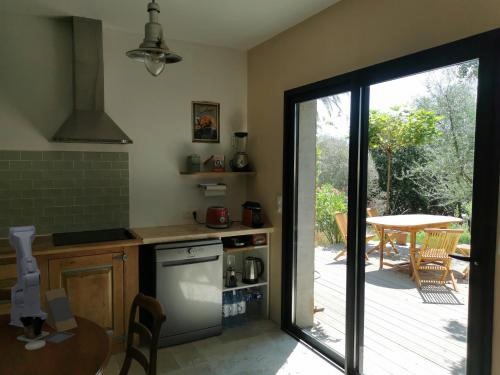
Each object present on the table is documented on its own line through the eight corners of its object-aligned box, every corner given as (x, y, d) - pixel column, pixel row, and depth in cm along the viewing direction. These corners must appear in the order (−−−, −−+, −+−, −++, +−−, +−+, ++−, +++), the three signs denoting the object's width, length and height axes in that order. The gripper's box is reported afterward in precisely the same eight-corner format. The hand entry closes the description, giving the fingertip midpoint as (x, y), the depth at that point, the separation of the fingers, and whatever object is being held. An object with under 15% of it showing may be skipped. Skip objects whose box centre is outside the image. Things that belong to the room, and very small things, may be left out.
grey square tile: (42, 341, 156) (42, 339, 156) (60, 333, 164) (60, 330, 164) (58, 345, 153) (58, 342, 153) (75, 336, 161) (74, 334, 160)
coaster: (20, 348, 150) (20, 346, 150) (37, 341, 156) (36, 338, 156) (33, 352, 147) (33, 349, 147) (49, 344, 153) (49, 341, 153)
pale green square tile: (16, 340, 157) (16, 337, 157) (35, 331, 165) (35, 329, 165) (31, 343, 154) (31, 341, 154) (49, 335, 162) (49, 332, 162)
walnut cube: (24, 337, 158) (24, 326, 158) (34, 333, 163) (34, 322, 162) (32, 339, 157) (32, 328, 156) (42, 335, 161) (41, 324, 161)
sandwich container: (58, 334, 163) (57, 299, 162) (45, 324, 174) (44, 291, 173) (78, 328, 169) (77, 294, 169) (65, 318, 180) (64, 287, 179)
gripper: (10, 302, 158) (12, 334, 159) (36, 306, 152) (37, 340, 153) (26, 296, 164) (27, 328, 165) (51, 301, 159) (52, 333, 160)
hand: (33, 333), depth 160 cm, fingers closed on walnut cube, 4 cm apart
